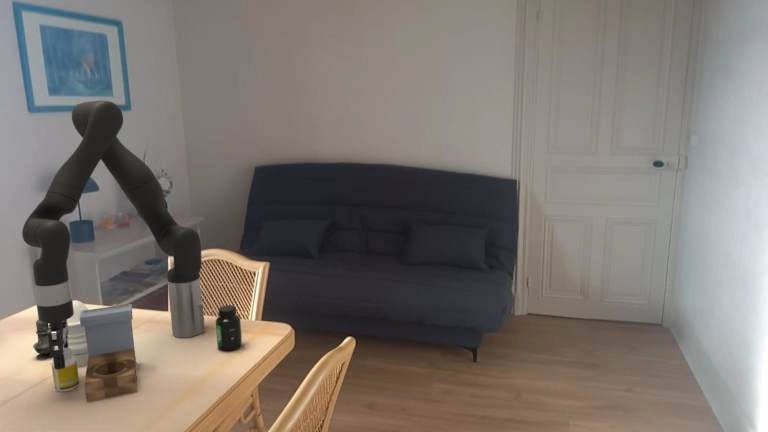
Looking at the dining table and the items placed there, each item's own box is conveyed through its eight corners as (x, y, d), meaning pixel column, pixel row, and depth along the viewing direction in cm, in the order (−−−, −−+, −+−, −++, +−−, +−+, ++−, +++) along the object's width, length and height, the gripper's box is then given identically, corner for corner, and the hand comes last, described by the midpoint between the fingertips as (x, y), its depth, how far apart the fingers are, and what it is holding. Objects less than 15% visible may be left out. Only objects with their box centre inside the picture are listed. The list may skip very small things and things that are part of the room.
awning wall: (138, 361, 155) (131, 303, 151) (138, 370, 150) (131, 310, 146) (89, 370, 150) (81, 310, 146) (87, 379, 145) (79, 317, 142)
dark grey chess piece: (47, 361, 155) (41, 320, 153) (29, 359, 156) (23, 319, 154) (63, 351, 161) (58, 312, 158) (45, 350, 162) (40, 310, 159)
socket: (136, 365, 153) (134, 348, 151) (136, 391, 139) (134, 373, 138) (90, 373, 148) (88, 356, 147) (86, 401, 135) (84, 382, 134)
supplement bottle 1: (84, 383, 143) (79, 347, 141) (66, 394, 138) (61, 357, 136) (68, 380, 145) (63, 344, 143) (49, 390, 140) (44, 354, 138)
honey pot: (54, 372, 149) (44, 308, 145) (56, 352, 160) (47, 293, 156) (107, 361, 155) (100, 299, 151) (106, 343, 166) (98, 285, 162)
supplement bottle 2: (218, 353, 159) (215, 314, 156) (217, 343, 165) (214, 305, 163) (243, 350, 161) (240, 310, 159) (240, 340, 167) (238, 302, 165)
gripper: (68, 307, 132) (76, 370, 135) (74, 288, 145) (81, 347, 148) (31, 311, 129) (40, 376, 132) (40, 292, 142) (48, 352, 145)
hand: (62, 361), depth 140 cm, fingers open, 8 cm apart
